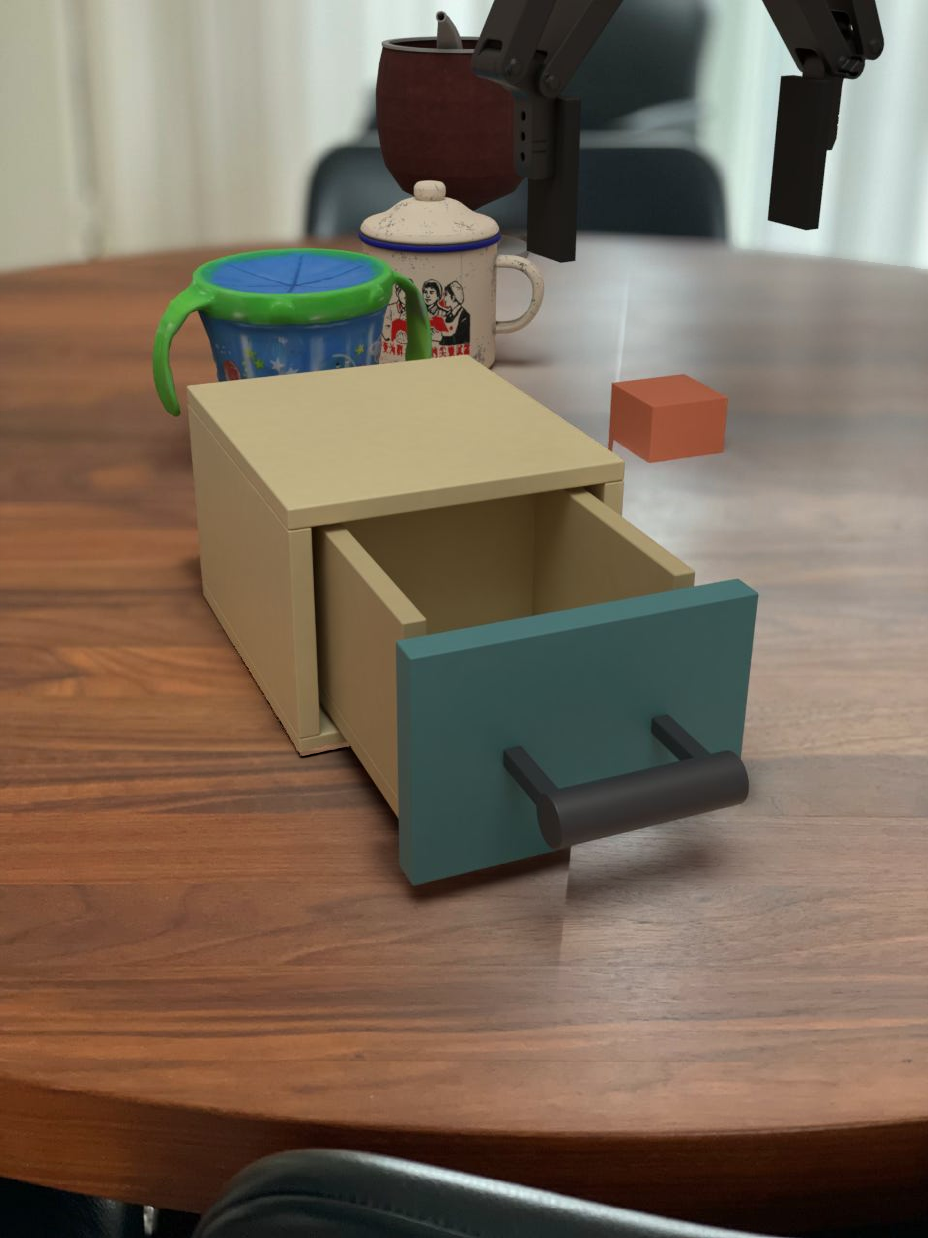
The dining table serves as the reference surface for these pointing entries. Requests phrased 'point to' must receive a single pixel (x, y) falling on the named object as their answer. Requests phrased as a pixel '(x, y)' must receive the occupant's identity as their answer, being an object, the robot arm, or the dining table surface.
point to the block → (667, 418)
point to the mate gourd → (446, 121)
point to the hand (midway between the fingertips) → (677, 240)
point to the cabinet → (353, 488)
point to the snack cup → (290, 315)
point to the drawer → (529, 676)
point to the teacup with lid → (445, 274)
